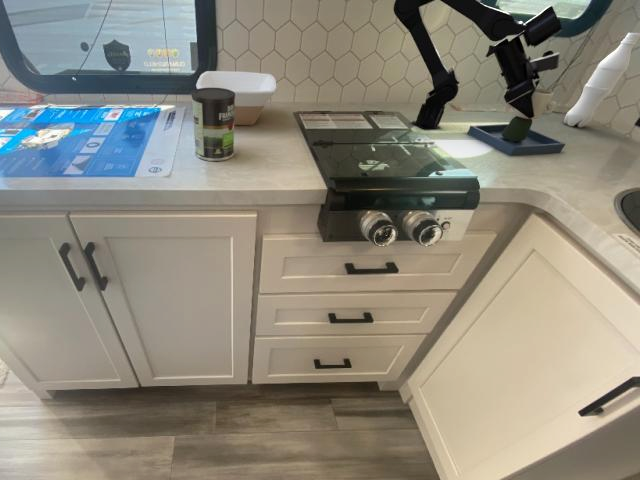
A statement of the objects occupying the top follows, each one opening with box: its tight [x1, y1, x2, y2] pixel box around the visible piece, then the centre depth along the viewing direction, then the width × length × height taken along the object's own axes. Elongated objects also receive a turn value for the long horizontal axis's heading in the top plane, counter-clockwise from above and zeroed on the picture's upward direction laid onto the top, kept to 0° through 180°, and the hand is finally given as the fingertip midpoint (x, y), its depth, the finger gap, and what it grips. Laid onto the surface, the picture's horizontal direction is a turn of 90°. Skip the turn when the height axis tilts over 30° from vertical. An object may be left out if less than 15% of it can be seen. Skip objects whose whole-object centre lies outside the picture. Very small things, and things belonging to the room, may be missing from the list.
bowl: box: [195, 70, 278, 126], centre depth 107 cm, size 24×25×11 cm
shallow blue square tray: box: [466, 123, 566, 157], centre depth 103 cm, size 18×18×2 cm
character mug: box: [502, 87, 558, 141], centre depth 99 cm, size 11×7×13 cm, turn 49°
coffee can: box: [190, 88, 235, 162], centre depth 85 cm, size 10×10×14 cm
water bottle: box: [563, 32, 640, 128], centre depth 109 cm, size 7×7×25 cm
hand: (533, 113), depth 97 cm, fingers open, 9 cm apart
